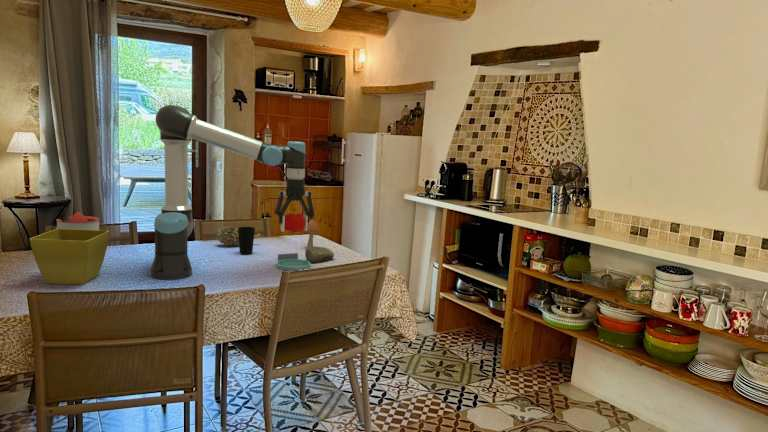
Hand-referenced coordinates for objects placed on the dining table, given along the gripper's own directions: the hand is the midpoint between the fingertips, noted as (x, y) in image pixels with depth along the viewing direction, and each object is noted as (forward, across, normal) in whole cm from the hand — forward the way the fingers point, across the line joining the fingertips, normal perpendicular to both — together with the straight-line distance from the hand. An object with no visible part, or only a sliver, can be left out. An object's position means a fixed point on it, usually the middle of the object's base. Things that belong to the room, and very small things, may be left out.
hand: (293, 230), depth 225 cm
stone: (+16, +15, +7) cm, 23 cm away
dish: (+15, 0, -1) cm, 16 cm away
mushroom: (+16, +20, +30) cm, 40 cm away
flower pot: (+16, -82, +4) cm, 84 cm away
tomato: (0, 0, 0) cm, 1 cm away
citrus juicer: (+16, -80, +37) cm, 90 cm away
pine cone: (+16, -11, +46) cm, 50 cm away
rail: (+15, +1, +8) cm, 18 cm away
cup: (+16, -13, +28) cm, 35 cm away
